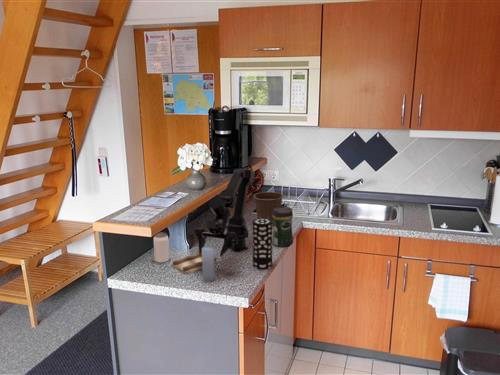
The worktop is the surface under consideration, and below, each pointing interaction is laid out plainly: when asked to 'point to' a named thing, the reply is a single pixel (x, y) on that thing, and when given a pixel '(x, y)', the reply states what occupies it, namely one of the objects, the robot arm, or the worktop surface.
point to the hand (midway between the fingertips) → (210, 254)
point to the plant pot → (267, 204)
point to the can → (161, 248)
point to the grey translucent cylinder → (208, 263)
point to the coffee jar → (282, 226)
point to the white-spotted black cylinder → (262, 243)
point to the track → (190, 263)
